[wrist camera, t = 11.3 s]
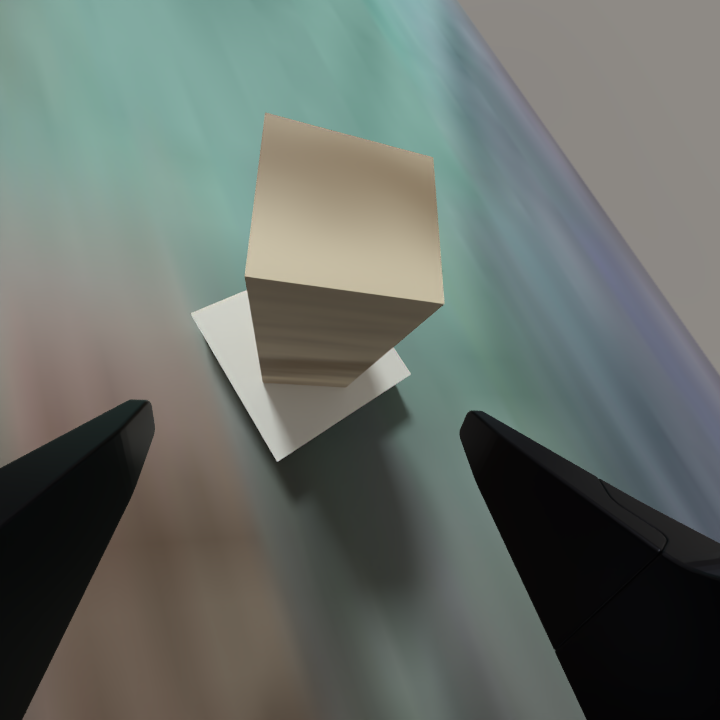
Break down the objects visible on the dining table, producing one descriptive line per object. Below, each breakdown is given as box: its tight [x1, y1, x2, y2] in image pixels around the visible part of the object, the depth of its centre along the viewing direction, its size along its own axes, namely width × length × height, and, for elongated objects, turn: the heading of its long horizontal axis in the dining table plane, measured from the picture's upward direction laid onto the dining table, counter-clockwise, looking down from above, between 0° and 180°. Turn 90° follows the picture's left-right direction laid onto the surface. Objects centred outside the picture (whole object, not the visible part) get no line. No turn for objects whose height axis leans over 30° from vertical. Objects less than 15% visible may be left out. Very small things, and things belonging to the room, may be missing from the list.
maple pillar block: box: [245, 113, 444, 387], centre depth 14 cm, size 5×5×12 cm
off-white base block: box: [190, 290, 411, 462], centre depth 21 cm, size 10×10×3 cm
